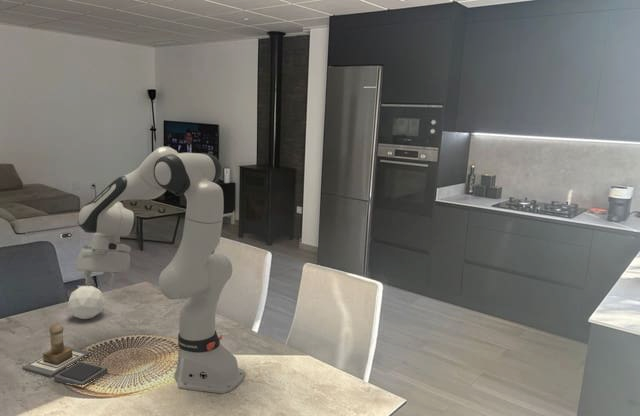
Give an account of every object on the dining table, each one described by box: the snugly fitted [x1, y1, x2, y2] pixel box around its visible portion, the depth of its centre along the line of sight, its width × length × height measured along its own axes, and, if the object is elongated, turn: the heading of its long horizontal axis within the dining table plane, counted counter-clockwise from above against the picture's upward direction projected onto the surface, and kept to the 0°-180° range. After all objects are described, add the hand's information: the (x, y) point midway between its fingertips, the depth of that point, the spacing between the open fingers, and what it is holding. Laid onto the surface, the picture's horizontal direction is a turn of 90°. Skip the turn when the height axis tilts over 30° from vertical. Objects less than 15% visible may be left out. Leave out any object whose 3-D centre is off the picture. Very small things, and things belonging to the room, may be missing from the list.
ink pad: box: [53, 360, 108, 386], centre depth 147 cm, size 11×10×2 cm
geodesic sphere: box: [67, 284, 106, 320], centre depth 189 cm, size 14×14×14 cm
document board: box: [22, 345, 92, 378], centre depth 155 cm, size 12×16×1 cm
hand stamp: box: [42, 322, 72, 365], centre depth 154 cm, size 6×6×13 cm
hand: (99, 285), depth 163 cm, fingers open, 8 cm apart
